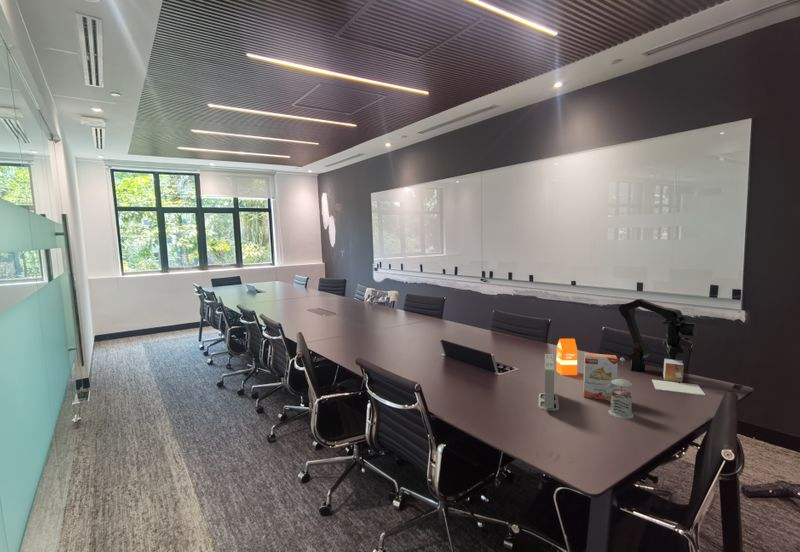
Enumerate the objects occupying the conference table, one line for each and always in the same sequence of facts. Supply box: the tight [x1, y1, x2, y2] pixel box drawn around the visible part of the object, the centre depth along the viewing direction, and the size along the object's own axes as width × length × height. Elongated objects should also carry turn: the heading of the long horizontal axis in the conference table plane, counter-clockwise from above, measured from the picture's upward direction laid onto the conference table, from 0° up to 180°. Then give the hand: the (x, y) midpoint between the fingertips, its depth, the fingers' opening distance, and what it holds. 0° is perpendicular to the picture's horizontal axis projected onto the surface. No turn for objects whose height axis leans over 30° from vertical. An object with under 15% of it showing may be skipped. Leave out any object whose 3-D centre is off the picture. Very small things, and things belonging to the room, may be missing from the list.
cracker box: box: [582, 352, 619, 401], centre depth 187 cm, size 14×6×21 cm, turn 68°
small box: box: [662, 358, 685, 383], centre depth 207 cm, size 8×6×10 cm
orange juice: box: [555, 338, 578, 376], centre depth 223 cm, size 8×9×20 cm
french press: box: [604, 357, 635, 420], centre depth 170 cm, size 10×12×25 cm
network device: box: [537, 353, 560, 411], centre depth 183 cm, size 26×9×20 cm, turn 160°
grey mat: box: [651, 379, 706, 397], centre depth 198 cm, size 20×14×1 cm
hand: (672, 361), depth 210 cm, fingers closed
